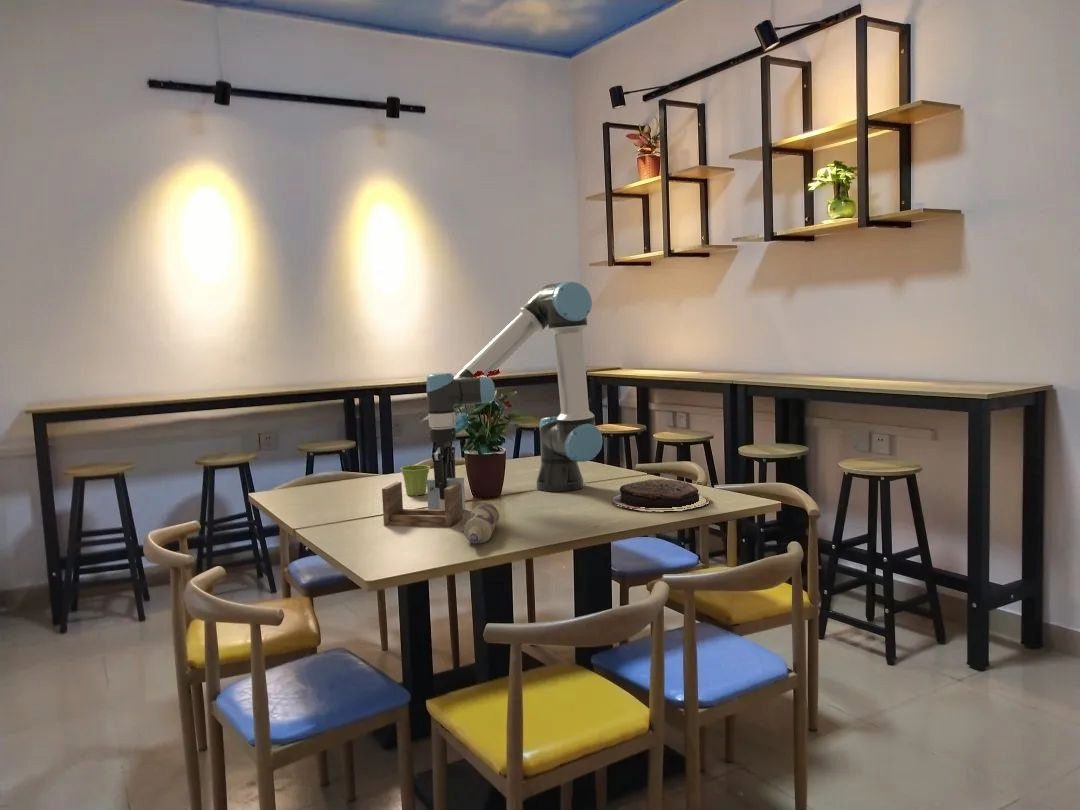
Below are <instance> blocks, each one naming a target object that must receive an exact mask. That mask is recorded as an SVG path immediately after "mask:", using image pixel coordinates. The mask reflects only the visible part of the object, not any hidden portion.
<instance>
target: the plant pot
mask: <svg viewBox="0 0 1080 810" xmlns="http://www.w3.org/2000/svg"><path fill="white" fill-rule="evenodd" d="M430 469H431V466H430V465H422V464H415V465H413V464H412V465H406V466H405V465H404V466H401V467H400V471H401V474H402V475H403V481H404V487H405V494H406V496H409V495H410V497H416V496H415V495H419V496H424V495H423V494H425V493H427V480H428V475H429V472H430V471H429V470H430ZM413 495H414V496H413ZM425 495H426V494H425Z"/></svg>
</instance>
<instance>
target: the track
mask: <svg viewBox="0 0 1080 810" xmlns="http://www.w3.org/2000/svg"><path fill="white" fill-rule="evenodd" d="M402 484H403V483H402V481H395V482H394V483H391V484H389V485H387V486H385V487H383V488H381V489H382V490H381V495H382V496H381V497H382V499H381V500H382V512H383V513H382V514H383V516H382V517H383V526H384V525H392V526H391V527H433V526H438V527H440V526H441V528H442V527H443V528H447V527H449V528H451V527H453V526H455V525H456V524H457V523H459V522H460V521H461V520H463V519H464V513H463V512H464V510H463V506H462V484H461V482H456V483H454V484H452V485H451V486H449V487H447V488H445V489H444V499H445V510H434V509H428V508H427V509H426V508H425V509H418V508H416V509H415V508H404V507H403V506H404V505H403V504H404V503H403V501H404V500H403V485H402ZM462 518H463V519H462ZM459 520H460V521H459ZM458 521H459V522H458ZM455 523H456V524H455ZM394 525H395V526H394ZM438 527H437V528H438Z"/></svg>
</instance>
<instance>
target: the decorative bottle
mask: <svg viewBox="0 0 1080 810" xmlns="http://www.w3.org/2000/svg"><path fill="white" fill-rule="evenodd" d="M499 512H500V511H499V509H497V507H496V506H495V505H494V504H491V503H489V502H481V503H478V504H476V505H474V506H473V508H472V509H471V512H470V513H469V515H468V517H467V519H466V520H465V522H464V524H463V526H462V530H461V533H463V535H464V537H465V538H466V540H468V541H469V542H470V543H471V544H484V543H486V542H487V541H489V540H490V539H491V537H492V534H493V532H494V529H495V527H496V526H497V524H498V521H499V520H500V513H499Z"/></svg>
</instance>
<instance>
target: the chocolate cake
mask: <svg viewBox="0 0 1080 810" xmlns="http://www.w3.org/2000/svg"><path fill="white" fill-rule="evenodd" d="M619 493H620V494H617V495H616V496H614V497H612V502H613V503H614V505H615V504H616V505H619V506H622V507H627V508H632V509H645V510H674V509H649V508H672V507H682V506H686V505H691V504H694V503H696V502H698V501H699V496H701V497H703V498H705V499H706V502H705V503H703V504H701V505H704V504H706V503H708V502H709V501H710V502H711V498H710V497H709V496H708V495H707V494H703V493H699V489H698V487H696V486H694V485H692V484H691V483H690V482H686V481H681V480H674V479H665V478H658V479H657V478H656V479H645V480H639V481H634V482H631V483H627V484H626V483H625V484H623V485H621V486H620V487H619ZM698 506H700V505H698ZM640 507H645V508H640ZM694 507H696V506H694ZM687 508H691V507H687ZM677 509H683V508H677ZM684 509H685V508H684Z"/></svg>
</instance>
